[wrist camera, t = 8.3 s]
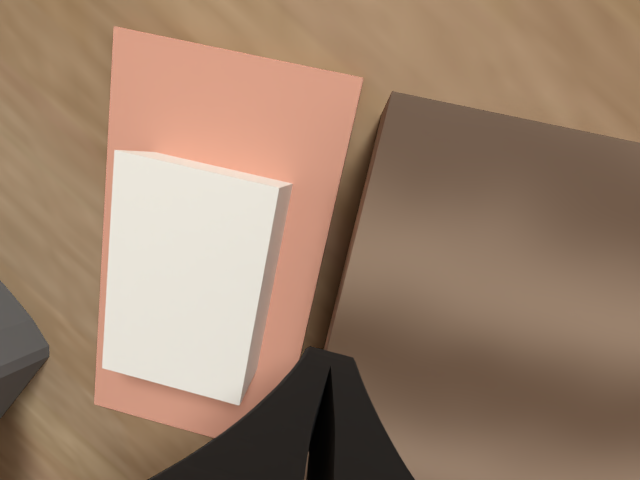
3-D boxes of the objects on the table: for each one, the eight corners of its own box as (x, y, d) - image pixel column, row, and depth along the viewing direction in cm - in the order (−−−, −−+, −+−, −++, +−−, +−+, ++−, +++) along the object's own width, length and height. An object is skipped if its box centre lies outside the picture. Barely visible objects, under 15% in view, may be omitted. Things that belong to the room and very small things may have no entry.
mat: (279, 449, 17) (277, 455, 17) (99, 398, 18) (94, 404, 17) (363, 80, 13) (363, 77, 12) (121, 30, 13) (113, 26, 13)
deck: (622, 527, 16) (707, 644, 12) (301, 438, 17) (284, 521, 13) (814, 205, 12) (1032, 224, 8) (382, 112, 13) (392, 91, 9)
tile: (101, 368, 14) (138, 338, 16) (239, 405, 13) (256, 369, 16) (114, 149, 12) (155, 152, 14) (279, 187, 11) (292, 183, 14)
